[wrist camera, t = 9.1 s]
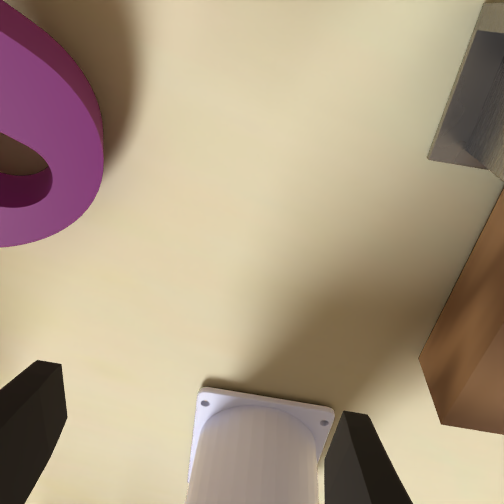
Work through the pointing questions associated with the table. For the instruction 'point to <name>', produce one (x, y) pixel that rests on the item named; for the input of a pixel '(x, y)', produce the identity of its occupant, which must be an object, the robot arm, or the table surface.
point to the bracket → (476, 101)
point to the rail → (472, 339)
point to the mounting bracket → (45, 132)
